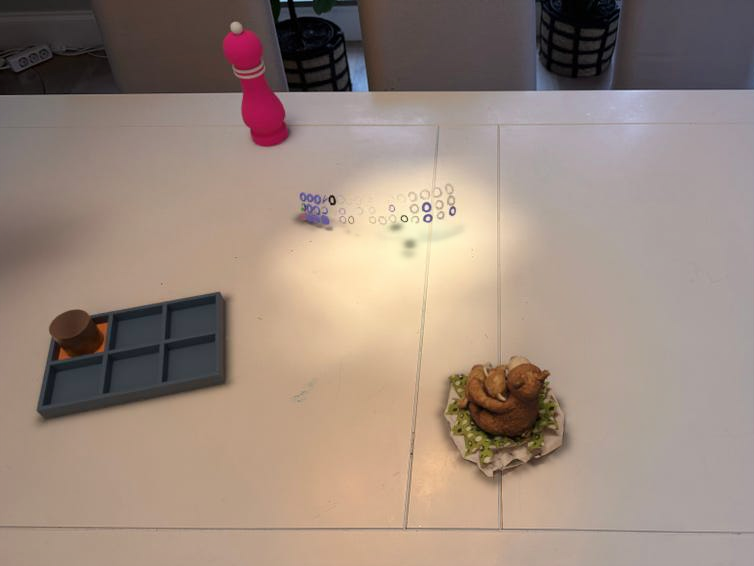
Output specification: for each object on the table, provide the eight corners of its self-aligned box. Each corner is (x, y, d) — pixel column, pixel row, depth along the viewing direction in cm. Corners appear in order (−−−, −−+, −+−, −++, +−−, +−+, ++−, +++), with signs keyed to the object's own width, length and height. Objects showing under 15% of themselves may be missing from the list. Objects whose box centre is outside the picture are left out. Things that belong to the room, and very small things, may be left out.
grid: (224, 383, 86) (219, 374, 84) (45, 419, 83) (36, 410, 82) (224, 301, 95) (219, 291, 93) (62, 331, 92) (54, 321, 91)
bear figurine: (529, 355, 87) (532, 290, 78) (579, 449, 78) (590, 389, 69) (429, 386, 85) (419, 323, 75) (469, 487, 76) (464, 430, 66)
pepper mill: (291, 122, 121) (259, 8, 105) (291, 145, 117) (257, 30, 101) (250, 127, 121) (212, 14, 105) (249, 151, 116) (209, 36, 100)
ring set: (287, 257, 103) (264, 183, 97) (328, 227, 112) (309, 157, 105) (435, 264, 94) (420, 182, 87) (466, 231, 103) (454, 154, 96)
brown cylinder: (62, 361, 88) (45, 342, 85) (67, 333, 91) (51, 313, 88) (102, 353, 89) (87, 334, 85) (106, 325, 92) (91, 306, 88)
